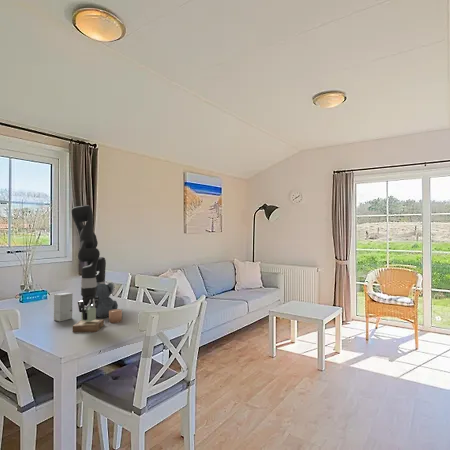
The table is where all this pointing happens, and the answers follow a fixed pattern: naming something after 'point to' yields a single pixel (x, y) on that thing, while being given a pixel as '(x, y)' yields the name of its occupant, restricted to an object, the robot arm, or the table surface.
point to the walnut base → (88, 326)
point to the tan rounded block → (115, 315)
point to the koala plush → (105, 299)
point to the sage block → (90, 315)
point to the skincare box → (62, 306)
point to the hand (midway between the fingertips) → (88, 318)
